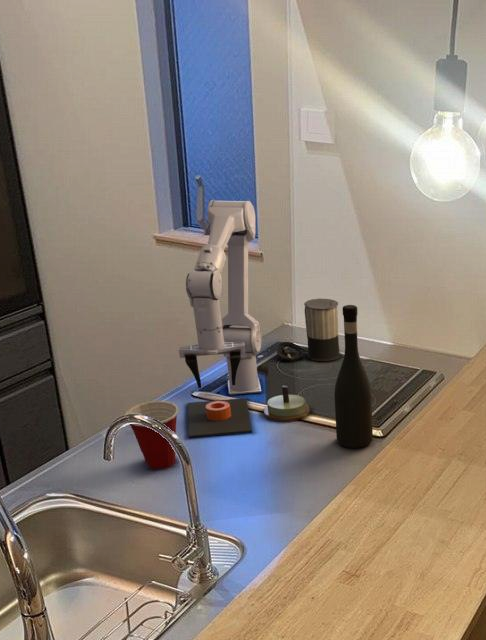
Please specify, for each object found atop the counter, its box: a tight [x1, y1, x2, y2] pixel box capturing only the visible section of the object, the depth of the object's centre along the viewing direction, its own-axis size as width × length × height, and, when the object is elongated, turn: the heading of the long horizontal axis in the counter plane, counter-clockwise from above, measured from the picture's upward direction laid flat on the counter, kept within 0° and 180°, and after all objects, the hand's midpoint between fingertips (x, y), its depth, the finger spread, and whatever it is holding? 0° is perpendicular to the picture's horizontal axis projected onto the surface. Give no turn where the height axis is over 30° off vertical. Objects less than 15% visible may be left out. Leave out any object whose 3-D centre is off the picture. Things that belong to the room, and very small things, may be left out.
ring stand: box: [263, 384, 311, 423], centre depth 202 cm, size 11×11×7 cm
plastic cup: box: [124, 400, 179, 470], centre depth 177 cm, size 11×11×12 cm
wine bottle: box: [333, 304, 374, 449], centre depth 182 cm, size 8×8×30 cm
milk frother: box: [276, 298, 341, 362], centre depth 233 cm, size 14×16×15 cm
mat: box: [187, 397, 253, 439], centre depth 201 cm, size 20×14×1 cm
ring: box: [205, 400, 231, 421], centre depth 200 cm, size 6×6×3 cm
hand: (216, 385), depth 197 cm, fingers open, 7 cm apart
